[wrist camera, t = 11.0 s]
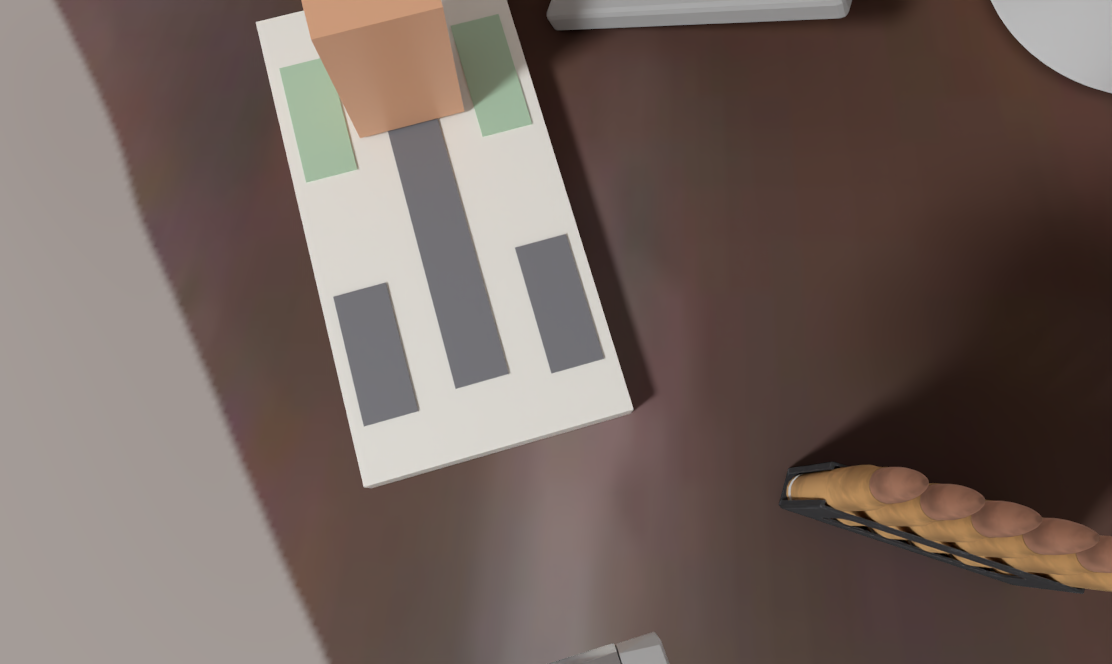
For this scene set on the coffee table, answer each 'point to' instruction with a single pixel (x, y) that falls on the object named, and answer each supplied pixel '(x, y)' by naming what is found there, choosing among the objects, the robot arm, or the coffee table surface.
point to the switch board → (445, 258)
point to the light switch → (686, 12)
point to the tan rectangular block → (386, 60)
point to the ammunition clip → (952, 525)
